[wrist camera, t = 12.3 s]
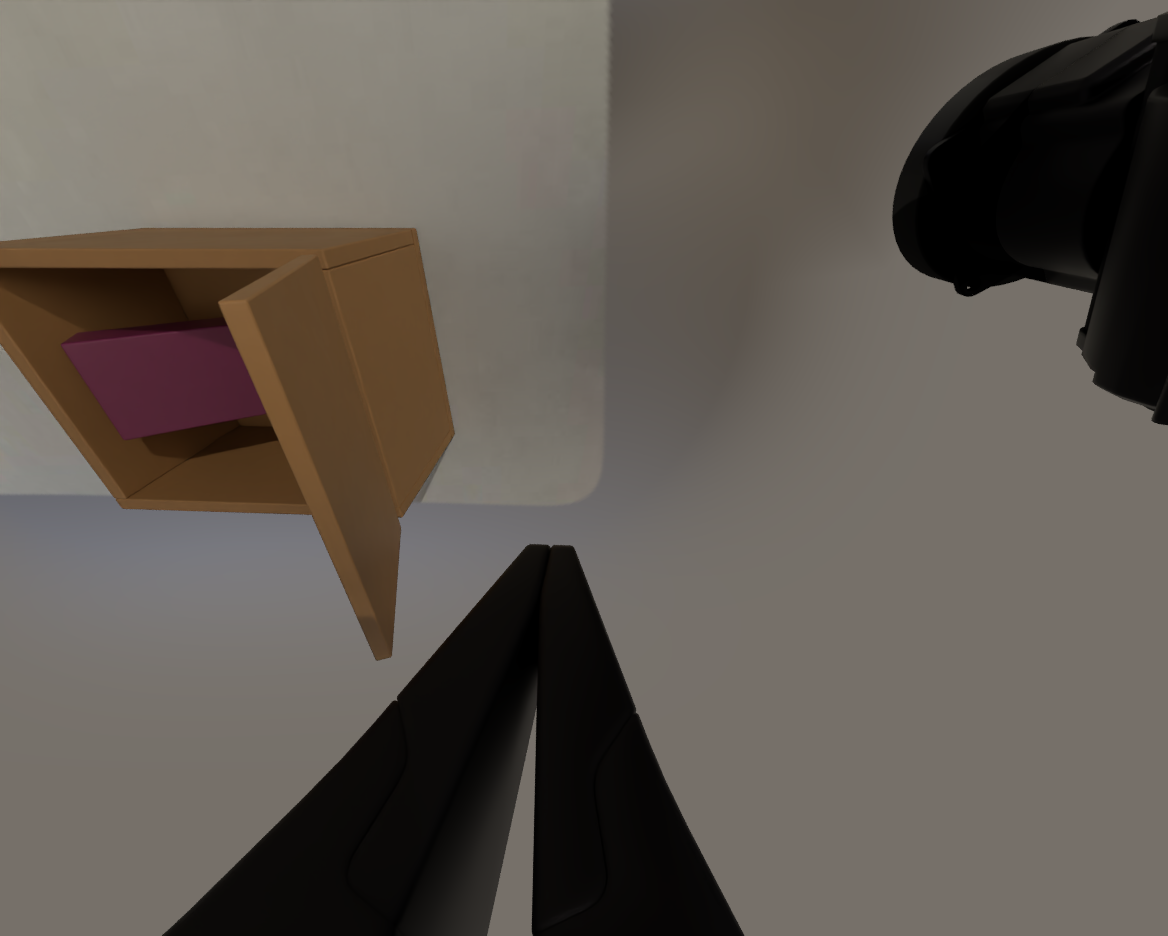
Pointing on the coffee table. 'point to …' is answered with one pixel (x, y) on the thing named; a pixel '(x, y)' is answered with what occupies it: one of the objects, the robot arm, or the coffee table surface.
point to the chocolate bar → (165, 376)
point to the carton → (192, 291)
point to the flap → (323, 431)
